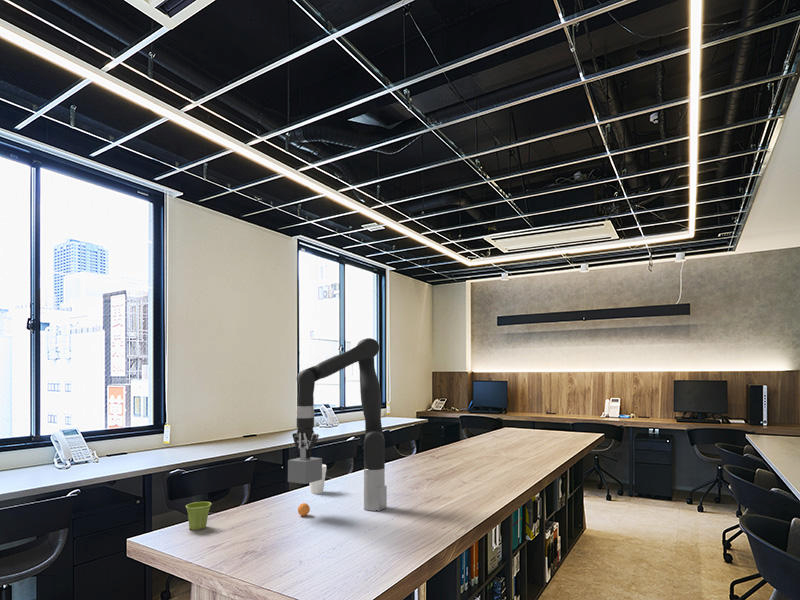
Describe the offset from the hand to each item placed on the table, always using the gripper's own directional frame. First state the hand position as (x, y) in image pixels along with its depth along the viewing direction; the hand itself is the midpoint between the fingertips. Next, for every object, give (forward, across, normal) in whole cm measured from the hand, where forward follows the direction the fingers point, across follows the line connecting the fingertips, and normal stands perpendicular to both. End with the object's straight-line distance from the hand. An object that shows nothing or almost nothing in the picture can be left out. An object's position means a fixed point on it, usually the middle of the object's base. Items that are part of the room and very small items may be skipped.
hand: (305, 457), depth 217 cm
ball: (+21, 0, +1) cm, 21 cm away
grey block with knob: (+10, 0, 0) cm, 10 cm away
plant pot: (+23, +24, +35) cm, 48 cm away
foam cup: (+24, +23, -33) cm, 47 cm away
